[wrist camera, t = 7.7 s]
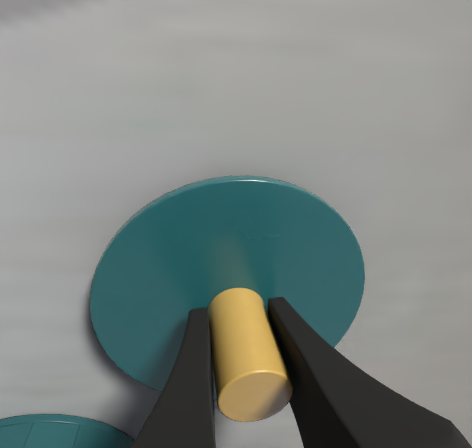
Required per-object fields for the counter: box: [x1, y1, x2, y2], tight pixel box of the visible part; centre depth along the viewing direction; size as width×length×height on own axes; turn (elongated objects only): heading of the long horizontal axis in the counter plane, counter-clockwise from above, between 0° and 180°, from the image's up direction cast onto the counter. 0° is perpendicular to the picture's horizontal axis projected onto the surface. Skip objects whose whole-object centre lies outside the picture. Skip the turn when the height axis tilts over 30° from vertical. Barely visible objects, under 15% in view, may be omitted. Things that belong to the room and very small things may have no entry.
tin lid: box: [90, 176, 365, 422], centre depth 12 cm, size 11×11×5 cm
